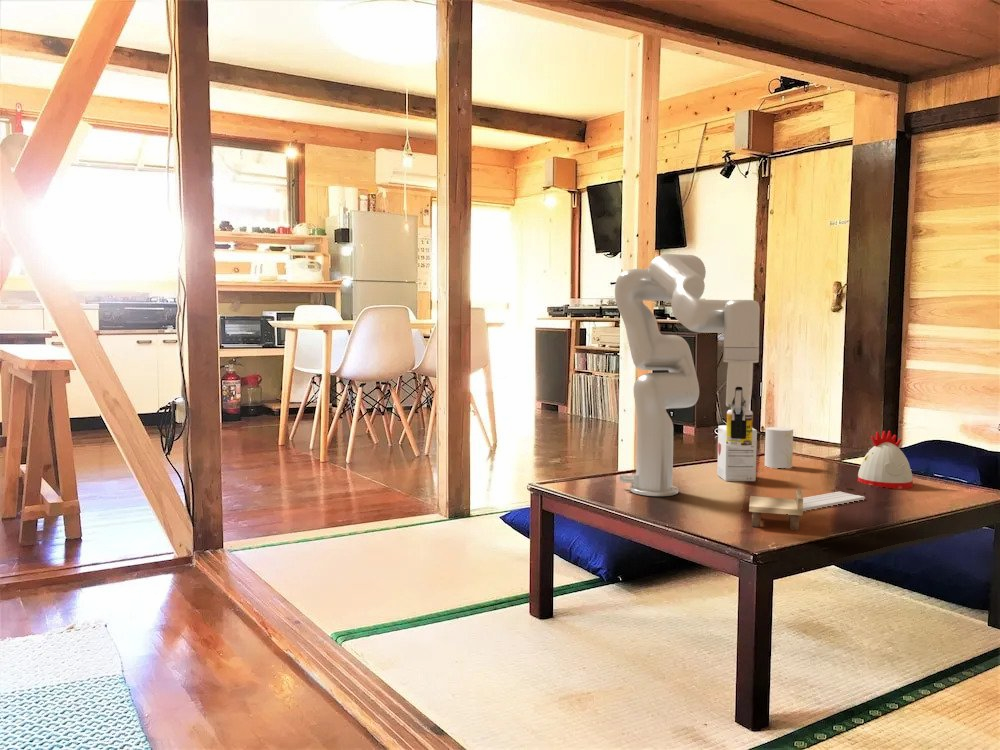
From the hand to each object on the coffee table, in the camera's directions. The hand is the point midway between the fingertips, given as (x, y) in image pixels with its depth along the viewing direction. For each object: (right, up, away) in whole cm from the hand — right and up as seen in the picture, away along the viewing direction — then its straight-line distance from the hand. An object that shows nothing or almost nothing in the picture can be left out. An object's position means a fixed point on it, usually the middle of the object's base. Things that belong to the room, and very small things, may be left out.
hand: (739, 435), depth 179 cm
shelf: (+8, -20, +1) cm, 21 cm away
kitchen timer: (+55, -17, +46) cm, 74 cm away
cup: (+34, -15, +72) cm, 81 cm away
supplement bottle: (0, -3, 0) cm, 3 cm away
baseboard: (+24, -19, +21) cm, 38 cm away
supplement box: (+15, -17, +53) cm, 58 cm away
